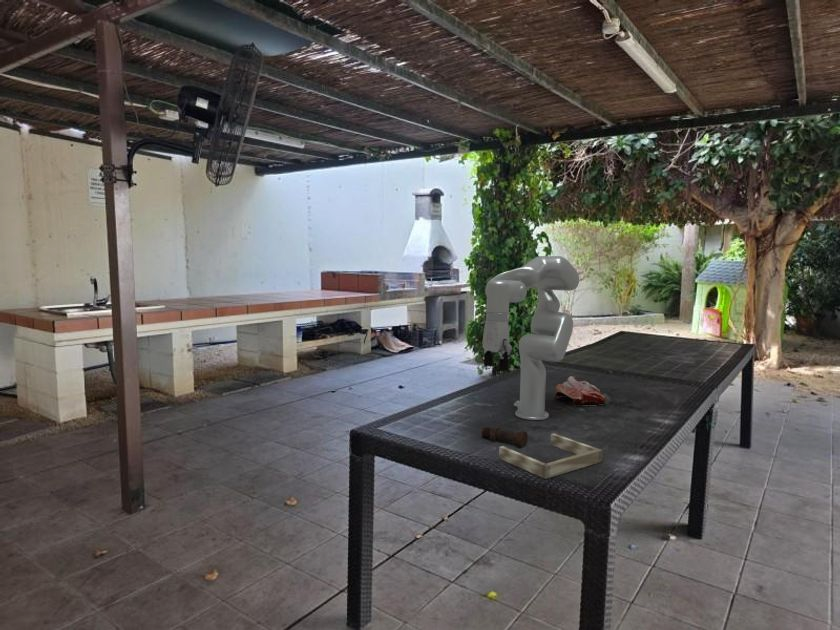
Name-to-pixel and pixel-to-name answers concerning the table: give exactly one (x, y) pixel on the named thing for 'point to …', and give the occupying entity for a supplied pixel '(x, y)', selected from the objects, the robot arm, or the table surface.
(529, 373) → the robot arm
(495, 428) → the bolt
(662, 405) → the table surface
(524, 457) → the bay
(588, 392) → the meat
